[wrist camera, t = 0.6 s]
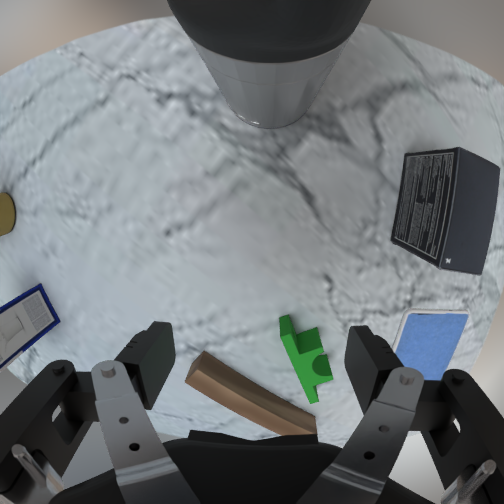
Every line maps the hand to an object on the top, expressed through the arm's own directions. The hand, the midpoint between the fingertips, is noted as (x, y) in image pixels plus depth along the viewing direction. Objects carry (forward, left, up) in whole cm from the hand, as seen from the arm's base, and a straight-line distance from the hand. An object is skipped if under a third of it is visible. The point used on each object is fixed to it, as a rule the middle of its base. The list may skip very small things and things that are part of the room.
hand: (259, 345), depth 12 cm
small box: (-15, +11, -19) cm, 27 cm away
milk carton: (+31, -21, -19) cm, 42 cm away
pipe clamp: (+7, +13, -19) cm, 24 cm away
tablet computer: (0, +29, -20) cm, 35 cm away
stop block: (+17, +13, -19) cm, 29 cm away
